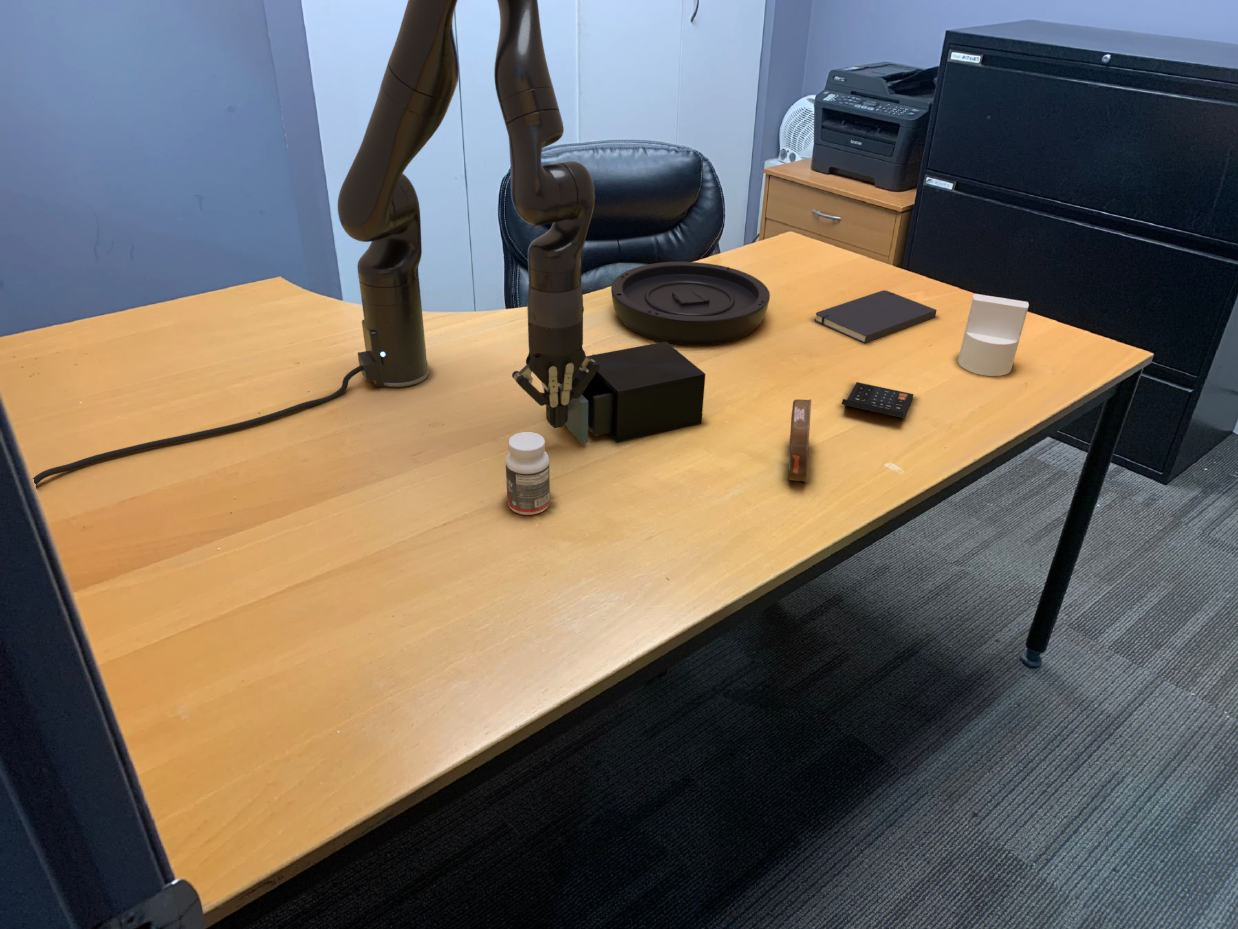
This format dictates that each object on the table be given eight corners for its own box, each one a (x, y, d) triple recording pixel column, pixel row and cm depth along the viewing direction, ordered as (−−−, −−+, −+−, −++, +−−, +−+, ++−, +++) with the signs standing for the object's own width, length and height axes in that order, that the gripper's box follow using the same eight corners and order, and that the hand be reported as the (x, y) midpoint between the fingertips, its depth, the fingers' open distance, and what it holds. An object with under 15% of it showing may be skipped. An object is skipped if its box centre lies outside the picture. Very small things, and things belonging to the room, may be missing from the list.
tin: (805, 493, 128) (813, 441, 124) (782, 490, 129) (789, 438, 124) (808, 439, 141) (816, 389, 136) (787, 436, 141) (794, 387, 137)
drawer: (573, 445, 136) (573, 404, 132) (544, 410, 144) (543, 371, 141) (662, 425, 141) (664, 385, 138) (628, 393, 150) (630, 354, 146)
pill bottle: (507, 492, 127) (504, 429, 121) (549, 491, 127) (548, 428, 122) (507, 517, 122) (504, 452, 116) (550, 516, 122) (549, 451, 117)
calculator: (912, 398, 153) (916, 382, 151) (899, 430, 144) (902, 413, 142) (855, 386, 156) (858, 370, 154) (839, 416, 147) (842, 399, 145)
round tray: (729, 281, 195) (592, 294, 187) (732, 254, 192) (592, 266, 184) (793, 339, 171) (639, 357, 163) (797, 309, 168) (640, 326, 160)
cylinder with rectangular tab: (955, 370, 162) (971, 305, 156) (960, 350, 169) (975, 287, 163) (1010, 380, 159) (1028, 314, 153) (1012, 359, 166) (1029, 296, 160)
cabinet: (616, 443, 138) (618, 391, 134) (582, 405, 148) (582, 356, 143) (701, 423, 144) (705, 373, 139) (663, 388, 154) (665, 341, 149)
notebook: (864, 343, 171) (935, 317, 182) (866, 335, 170) (936, 309, 181) (812, 320, 179) (883, 296, 190) (813, 312, 178) (884, 289, 189)
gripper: (588, 297, 131) (588, 405, 141) (499, 311, 127) (505, 422, 136) (611, 317, 126) (609, 428, 135) (519, 332, 121) (523, 447, 130)
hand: (556, 425), depth 135 cm, fingers closed
